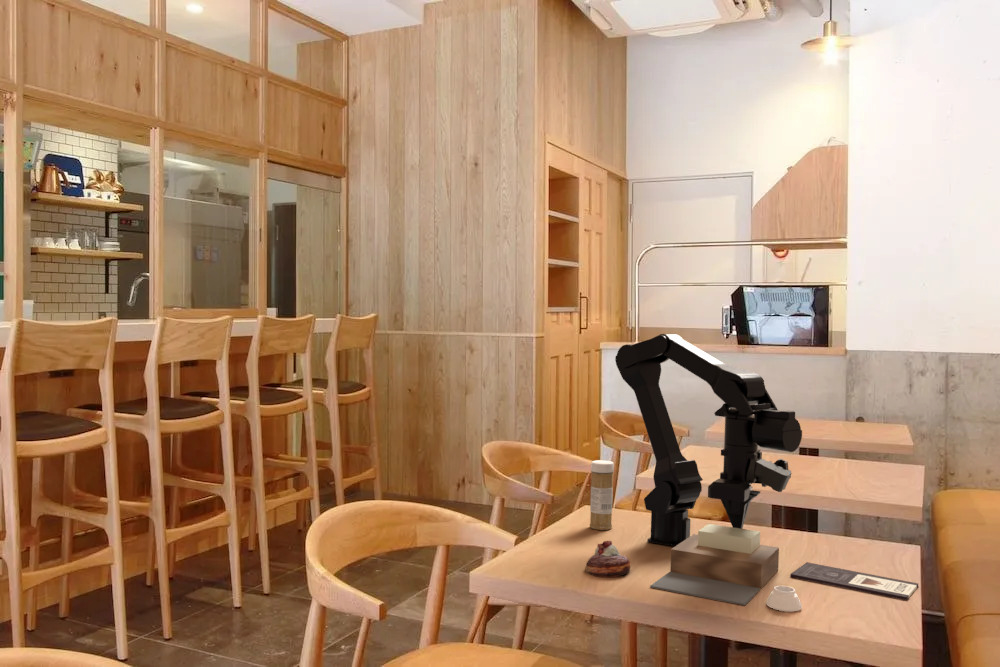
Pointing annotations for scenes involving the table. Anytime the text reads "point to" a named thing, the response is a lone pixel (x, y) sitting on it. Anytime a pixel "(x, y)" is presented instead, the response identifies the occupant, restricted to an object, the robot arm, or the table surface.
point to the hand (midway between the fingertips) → (738, 531)
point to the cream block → (729, 538)
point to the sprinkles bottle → (601, 494)
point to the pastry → (607, 561)
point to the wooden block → (725, 563)
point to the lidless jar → (784, 599)
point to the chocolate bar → (855, 581)
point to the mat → (706, 588)
